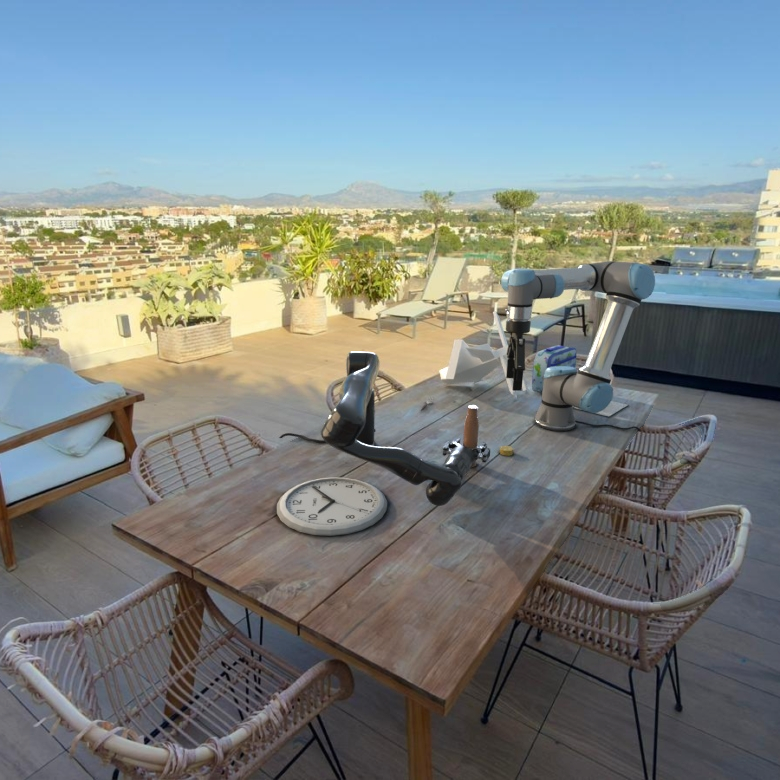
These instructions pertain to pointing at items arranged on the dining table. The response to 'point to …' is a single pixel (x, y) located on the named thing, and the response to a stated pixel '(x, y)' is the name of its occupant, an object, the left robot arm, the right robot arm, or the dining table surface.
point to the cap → (506, 450)
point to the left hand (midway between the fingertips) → (471, 443)
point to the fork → (427, 403)
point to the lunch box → (551, 363)
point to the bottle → (471, 429)
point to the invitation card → (611, 408)
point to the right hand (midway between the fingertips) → (513, 384)
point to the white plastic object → (478, 362)
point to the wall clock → (331, 506)
